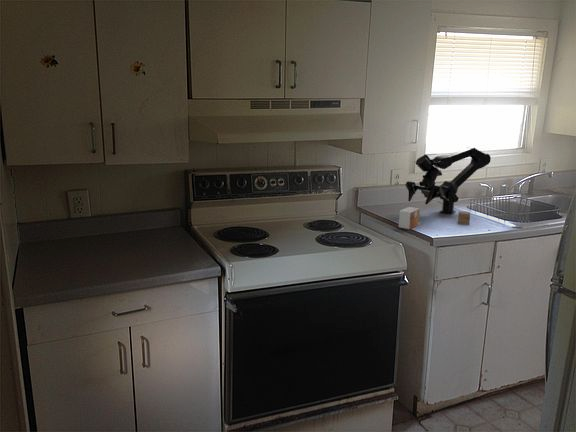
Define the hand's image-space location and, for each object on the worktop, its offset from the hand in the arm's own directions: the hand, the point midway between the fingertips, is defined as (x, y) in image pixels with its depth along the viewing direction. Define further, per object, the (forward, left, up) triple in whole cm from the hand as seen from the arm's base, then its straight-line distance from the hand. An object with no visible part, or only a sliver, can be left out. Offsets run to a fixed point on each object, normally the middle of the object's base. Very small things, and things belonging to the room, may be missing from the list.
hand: (417, 202), depth 264 cm
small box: (+12, +3, -4) cm, 13 cm away
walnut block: (-6, +22, -8) cm, 24 cm away
